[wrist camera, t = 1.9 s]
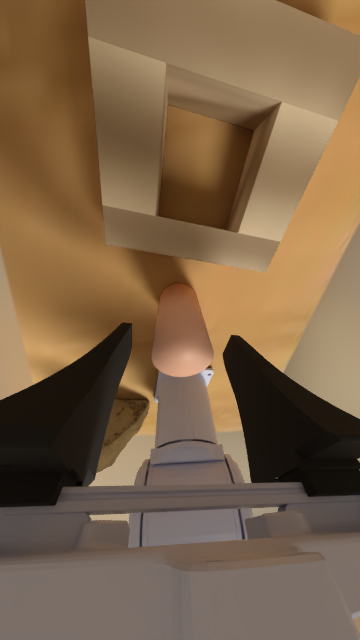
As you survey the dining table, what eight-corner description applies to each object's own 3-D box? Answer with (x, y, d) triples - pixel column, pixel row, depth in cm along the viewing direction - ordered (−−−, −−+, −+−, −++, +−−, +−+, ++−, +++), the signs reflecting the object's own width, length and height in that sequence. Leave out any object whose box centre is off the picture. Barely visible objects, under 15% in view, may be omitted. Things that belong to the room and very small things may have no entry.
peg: (192, 318, 18) (204, 378, 11) (158, 314, 17) (149, 374, 11) (201, 286, 16) (222, 337, 9) (161, 280, 15) (153, 329, 9)
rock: (161, 406, 24) (92, 400, 20) (148, 475, 21) (64, 485, 17) (141, 393, 33) (91, 387, 29) (130, 440, 30) (73, 441, 26)
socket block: (249, 262, 15) (265, 272, 12) (118, 239, 13) (105, 244, 11) (320, 90, 9) (375, 43, 7) (109, 14, 8) (78, -85, 5)
